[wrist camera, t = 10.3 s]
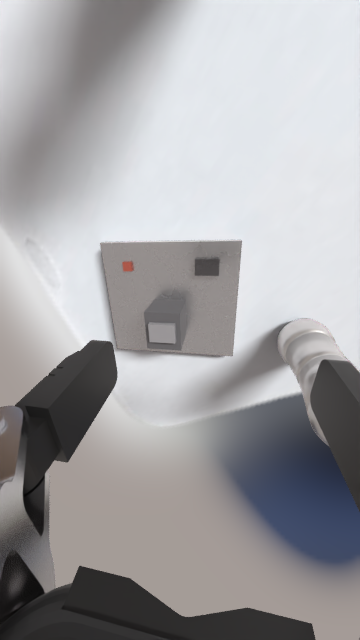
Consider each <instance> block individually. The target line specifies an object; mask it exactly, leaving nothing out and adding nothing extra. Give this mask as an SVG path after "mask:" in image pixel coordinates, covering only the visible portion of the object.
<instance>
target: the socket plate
mask: <svg viewBox="0 0 360 640" xmlns="http://www.w3.org/2000/svg"><path fill="white" fill-rule="evenodd" d="M100 245H101V251H102V257H103V264H104V270H105V276H106V282H107V288H108V294H109V301H110V307H111V313H112V319H113V325H114V331H115V338H116V344H117V349H131V350H146V351H161V352H176V353H191V354H206V355H221V356H233V345H234V333H235V321H236V308H237V296H238V283H239V271H240V259H241V246H242V240H184V241H121V242H103V243H100ZM154 299H174V300H186V324H187V333H186V336H185V340H184V343H183V346H182V349H181V351H179V350H164V349H149V348H147V341H146V330H145V320H144V311H145V310H146V309H147V308H148V307H149V305H150V304H151V303H152V302H153V301H154Z"/></svg>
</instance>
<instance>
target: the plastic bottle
mask: <svg viewBox="0 0 360 640" xmlns="http://www.w3.org/2000/svg"><path fill="white" fill-rule="evenodd" d="M277 343H278V351H279V354H280V355H281V357H282V358H283V360H284V361H285V362H286V363H287V364H288V365H289V366H290V368H291V370H292V371H293V373H294V374H295V376H296V378H297V380H298V383H299V385H300V388H301V391H302V393H303V397H304V401H305V405H306V409H307V413H308V417H309V420H310V423H311V425H312V428H313V430H314V431H315V432H316V434H317V435H318V436H319V437H320V438H321V439H322V440H323V441H324V442H325V443H326V444H327V445H328V443H327V440H326V438H325V436H324V434H323V432H322V430H321V428H320V425H319V423H318V421H317V419H316V417H315V415H314V413H313V410H312V408H311V403H310V393H311V390H312V386H313V383H314V380H315V377H316V374H317V371H318V367H319V364H320V362H321V361H322V360H324V359H328V360H341V361H349V360H348V359H347V358H346V357H345V356H344V354H343V353H342V352H341V350H340V349H339V347H338V346H337V344H336V343H335V340H334V338H333V336H332V334H331V333H330V331H329V329H328V328H327V327H326V326H324V325H323V324H321V323H319V322H318V321H316V320H313V319H308V318H302V319H297V320H294V321H292V322H290V323H288V324H287V325H286V326H284V327H283V329H282V330H281V331H280V333H279V335H278V339H277ZM349 362H350V361H349ZM353 366H354V367H355V368H356V369H357V370H358V371H359V372H360V370H359V369H358V368H357V367H356V366H355V365H353Z"/></svg>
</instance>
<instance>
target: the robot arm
mask: <svg viewBox="0 0 360 640" xmlns="http://www.w3.org/2000/svg"><path fill="white" fill-rule="evenodd" d="M116 381H117V367H116V361H115V355H114V349H113V345H112V343H111V342H109V341H97V340H92V341H90V342H89V343H88V344H87V345H86V346H85V347H84V348H83V349H82V350H81V351H77V352H76V353H74V354H72V355H70V356H68V357H67V358H65V359H64V360H63V361H62V362H61V363H60V364H59V365H58V366H57V368H55V369H53V370H52V371H51V372H50V373H49V375H48V376H46V377H45V378H44V379H43V380H42V381H40V382H39V383H38V384H37V385H36V386H35V387H34V388H33V389H32V390H31V391H30V392H29V393H28V394H27V395H25V397H23V398H22V399H21V400H20V401H19V402H18V403H17V404H16V405H15V406H4V407H0V640H315V635H314V631H313V627H312V624H311V623H307V622H303V621H299V620H295V619H291V618H287V617H283V616H278V615H275V614H271V613H266V612H262V611H258V610H255V609H251V608H243V609H237V610H231V611H225V612H219V613H213V614H207V615H201V616H195V617H184V616H181V615H179V614H178V613H176V612H175V611H173V610H172V609H171V608H169V607H168V606H166V605H165V604H164V603H163V602H161V601H160V600H159V599H157V598H156V597H154V596H153V595H152V594H150V593H149V592H148V591H146V590H145V589H144V588H142V587H141V586H139V585H138V584H137V583H135V582H134V581H133V580H131V579H130V578H126V577H122V576H118V575H114V574H110V573H106V572H102V571H98V570H94V569H90V568H86V567H82V566H79V568H78V570H77V573H76V575H75V578H74V580H73V583H71V584H68V585H64V586H61V587H58V588H55V573H54V564H53V558H52V554H51V550H50V542H49V487H50V486H49V485H50V479H49V478H50V476H49V471H48V469H49V467H50V466H51V464H52V462H53V461H54V460H57V461H62V462H68V461H69V460H70V458H71V456H72V455H73V453H74V452H75V450H76V448H77V447H78V445H79V443H80V442H81V440H82V439H83V437H84V435H85V434H86V432H87V430H88V429H89V427H90V426H91V424H92V422H93V421H94V419H95V417H96V416H97V414H98V413H99V411H100V409H101V408H102V406H103V404H104V403H105V401H106V399H107V398H108V396H109V395H110V393H111V391H112V390H113V388H114V386H115V384H116ZM310 403H311V408H312V410H313V413H314V415H315V417H316V419H317V421H318V423H319V425H320V428H321V430H322V432H323V434H324V436H325V438H326V440H327V443H328V445H329V447H330V449H331V451H332V453H333V455H334V458H335V460H336V462H337V464H338V466H339V468H340V470H341V473H342V475H343V477H344V479H345V481H346V483H347V486H348V488H349V490H350V492H351V494H352V496H353V498H354V501H355V503H356V505H357V507H358V509H359V511H360V372H359V371H358V370H357V369H356V368H355V367H354V366H353V364H352V363H351V362H349V361H341V360H328V359H324V360H322V361H321V362H320V364H319V367H318V371H317V374H316V377H315V380H314V383H313V386H312V390H311V393H310ZM359 640H360V638H359Z"/></svg>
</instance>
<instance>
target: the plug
mask: <svg viewBox="0 0 360 640" xmlns="http://www.w3.org/2000/svg"><path fill="white" fill-rule="evenodd" d="M144 320H145V330H146V341H147V348H149V349H164V350H179V351H181V349H182V346H183V343H184V340H185V336H186V333H187V324H186V300H174V299H154V301H153V302H152V303H151V304H150V305H149V307H148V308H147V309H146V310H145V311H144Z"/></svg>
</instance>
